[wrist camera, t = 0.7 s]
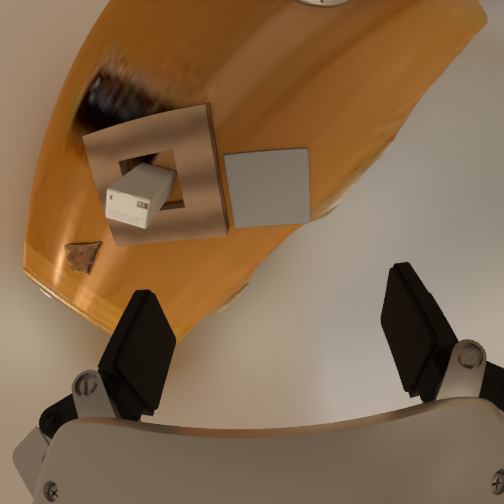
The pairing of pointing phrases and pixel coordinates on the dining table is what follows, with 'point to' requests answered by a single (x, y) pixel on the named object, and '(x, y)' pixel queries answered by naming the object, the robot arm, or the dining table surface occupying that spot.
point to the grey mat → (269, 187)
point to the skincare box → (139, 194)
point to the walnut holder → (188, 168)
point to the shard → (82, 256)
